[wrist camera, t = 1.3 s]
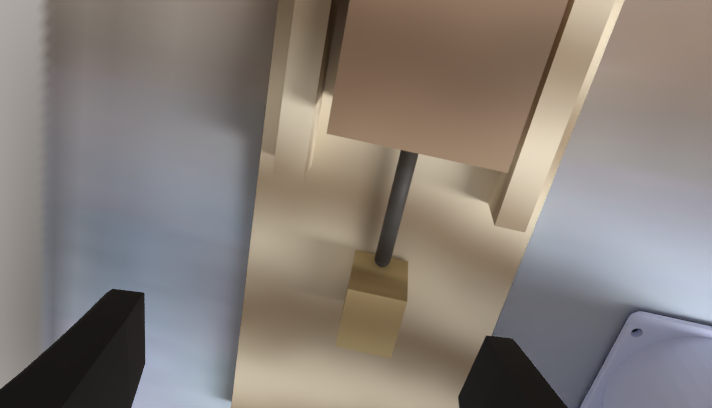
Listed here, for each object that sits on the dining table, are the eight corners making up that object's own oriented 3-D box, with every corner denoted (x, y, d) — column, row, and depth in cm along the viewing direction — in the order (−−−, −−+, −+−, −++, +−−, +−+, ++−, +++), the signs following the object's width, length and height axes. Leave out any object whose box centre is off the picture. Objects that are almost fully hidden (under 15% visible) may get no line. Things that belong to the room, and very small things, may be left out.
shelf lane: (439, 448, 30) (448, 631, 22) (235, 403, 30) (169, 569, 22) (656, -110, 18) (859, -160, 10) (306, -184, 18) (215, -296, 10)
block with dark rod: (430, 322, 25) (433, 385, 21) (306, 295, 25) (288, 353, 21) (545, -31, 18) (577, -26, 14) (372, -68, 18) (362, -72, 14)
